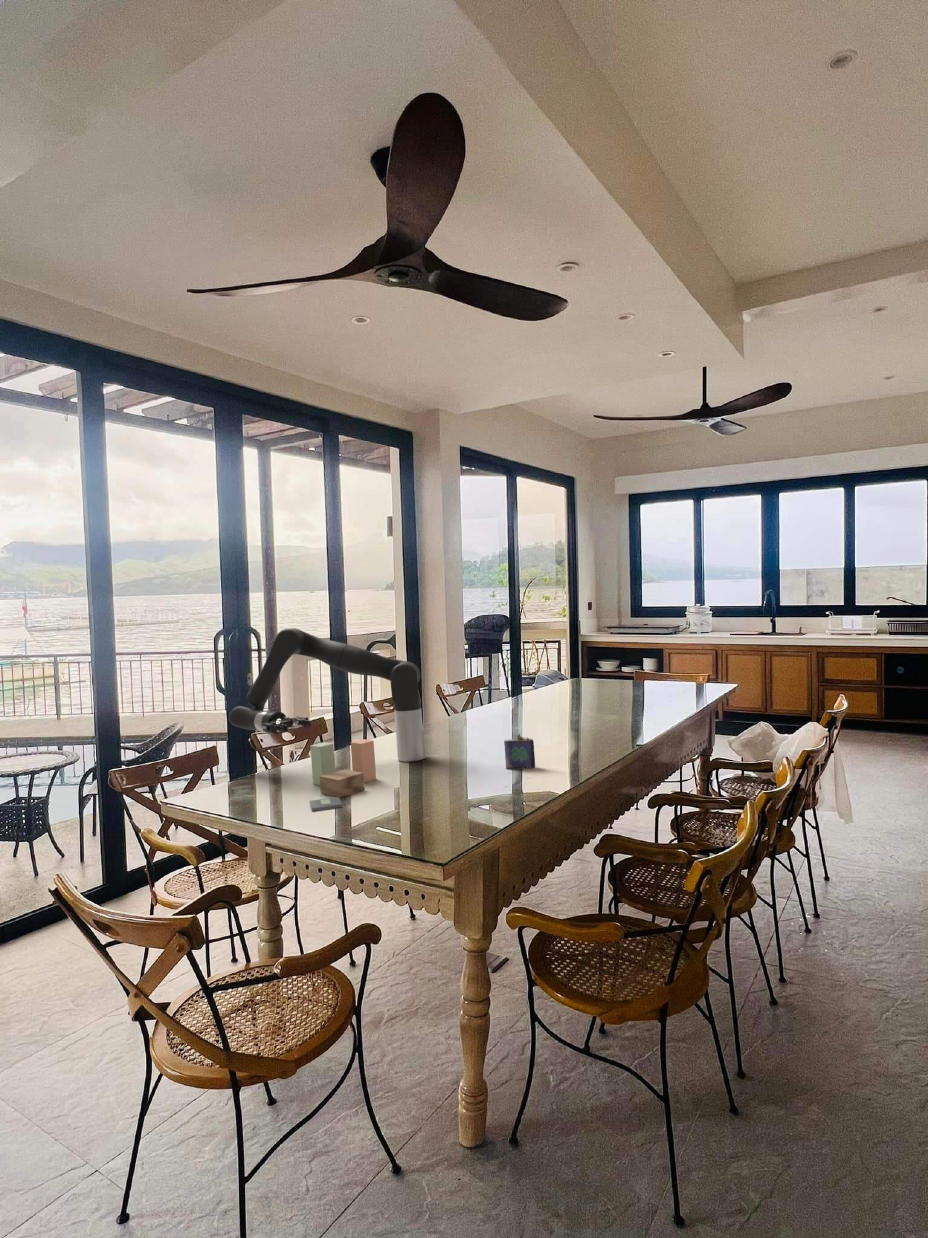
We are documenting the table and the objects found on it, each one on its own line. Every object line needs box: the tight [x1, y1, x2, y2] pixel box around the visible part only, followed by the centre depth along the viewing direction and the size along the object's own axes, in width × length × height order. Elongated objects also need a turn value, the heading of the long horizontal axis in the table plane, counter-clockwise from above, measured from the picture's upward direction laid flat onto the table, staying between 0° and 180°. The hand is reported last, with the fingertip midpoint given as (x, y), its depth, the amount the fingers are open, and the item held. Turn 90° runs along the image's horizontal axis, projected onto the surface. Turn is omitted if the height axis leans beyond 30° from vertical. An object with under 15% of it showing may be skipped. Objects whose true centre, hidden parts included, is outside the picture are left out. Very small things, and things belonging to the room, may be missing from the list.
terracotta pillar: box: [350, 738, 377, 784], centre depth 221 cm, size 5×5×12 cm
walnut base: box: [319, 769, 365, 798], centre depth 209 cm, size 9×9×5 cm
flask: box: [503, 732, 536, 770], centre depth 222 cm, size 9×3×11 cm, turn 79°
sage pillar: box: [309, 741, 336, 786], centre depth 220 cm, size 5×5×12 cm
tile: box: [309, 796, 343, 812], centre depth 196 cm, size 8×8×1 cm
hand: (298, 726), depth 227 cm, fingers open, 8 cm apart
